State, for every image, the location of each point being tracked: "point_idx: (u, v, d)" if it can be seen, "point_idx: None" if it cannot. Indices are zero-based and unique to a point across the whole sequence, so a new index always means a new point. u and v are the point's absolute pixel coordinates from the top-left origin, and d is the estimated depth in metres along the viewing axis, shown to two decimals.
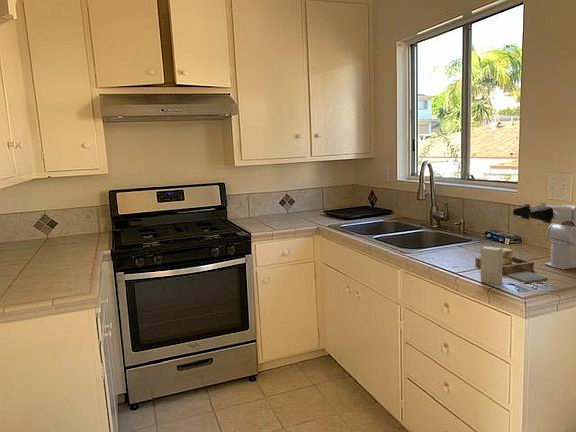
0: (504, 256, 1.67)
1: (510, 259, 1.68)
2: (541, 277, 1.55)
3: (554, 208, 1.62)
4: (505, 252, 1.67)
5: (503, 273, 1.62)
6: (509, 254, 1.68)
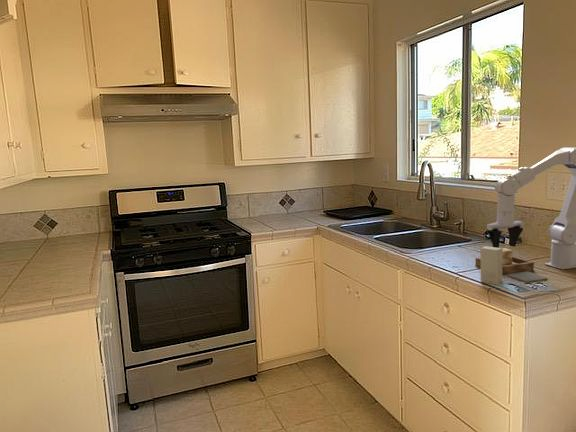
0: (504, 256, 1.67)
1: (510, 259, 1.68)
2: (541, 277, 1.55)
3: None
4: (505, 252, 1.67)
5: (503, 273, 1.62)
6: (509, 254, 1.68)
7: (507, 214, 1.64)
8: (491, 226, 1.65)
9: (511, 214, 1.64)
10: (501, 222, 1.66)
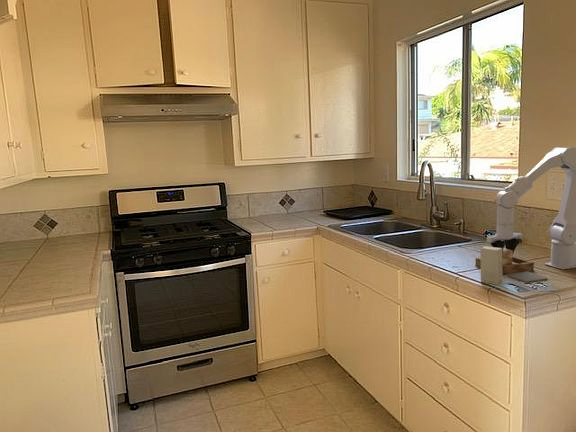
0: (504, 256, 1.67)
1: (510, 259, 1.68)
2: (541, 277, 1.55)
3: (496, 227, 1.69)
4: (505, 252, 1.67)
5: (503, 273, 1.62)
6: (509, 254, 1.68)
7: (507, 226, 1.65)
8: (491, 238, 1.65)
9: (511, 226, 1.65)
10: (501, 234, 1.66)
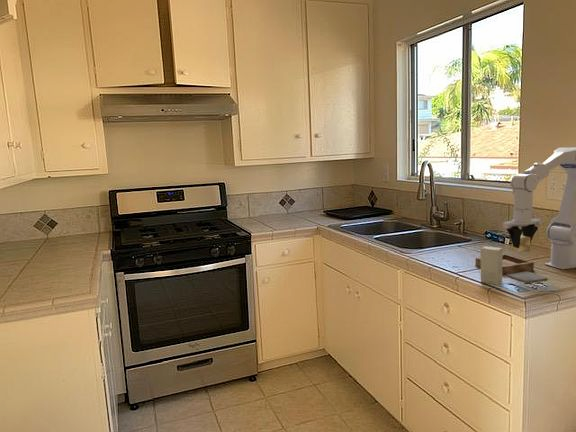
0: (521, 243, 1.56)
1: (527, 246, 1.57)
2: (541, 277, 1.55)
3: (513, 212, 1.58)
4: (523, 239, 1.56)
5: (503, 273, 1.62)
6: (526, 241, 1.57)
7: (525, 211, 1.54)
8: (508, 224, 1.55)
9: (529, 211, 1.54)
10: (518, 220, 1.56)
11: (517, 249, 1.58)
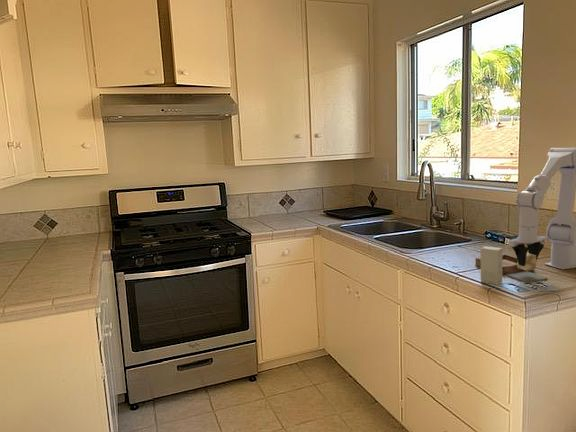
0: (527, 261, 1.54)
1: (533, 264, 1.55)
2: (541, 277, 1.55)
3: (519, 229, 1.56)
4: (528, 257, 1.54)
5: (503, 273, 1.62)
6: (532, 259, 1.55)
7: (531, 229, 1.52)
8: (513, 242, 1.52)
9: (535, 229, 1.52)
10: (524, 238, 1.53)
11: (523, 267, 1.56)
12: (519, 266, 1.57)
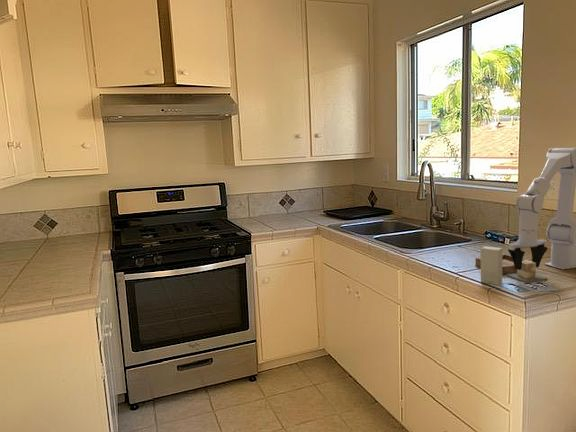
0: (527, 269, 1.55)
1: (533, 272, 1.56)
2: (541, 277, 1.55)
3: (519, 233, 1.56)
4: (528, 265, 1.54)
5: (503, 273, 1.62)
6: (532, 267, 1.55)
7: (531, 233, 1.52)
8: (513, 246, 1.52)
9: (535, 233, 1.52)
10: (524, 241, 1.53)
11: (522, 275, 1.56)
12: (519, 274, 1.58)
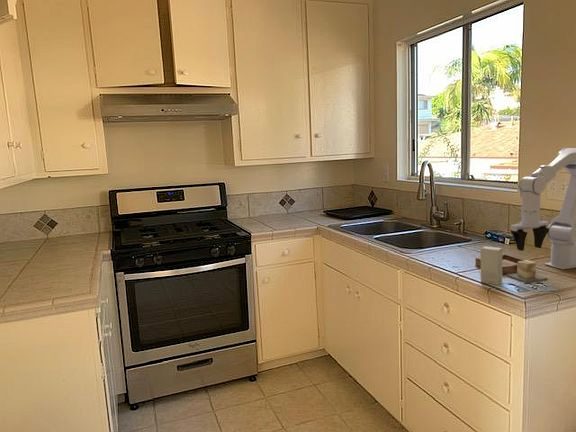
0: (527, 269, 1.55)
1: (533, 272, 1.56)
2: (541, 277, 1.55)
3: (521, 214, 1.59)
4: (528, 265, 1.54)
5: (503, 273, 1.62)
6: (532, 267, 1.55)
7: (533, 214, 1.55)
8: (516, 227, 1.56)
9: (537, 214, 1.55)
10: (526, 222, 1.56)
11: (522, 275, 1.56)
12: (519, 274, 1.58)
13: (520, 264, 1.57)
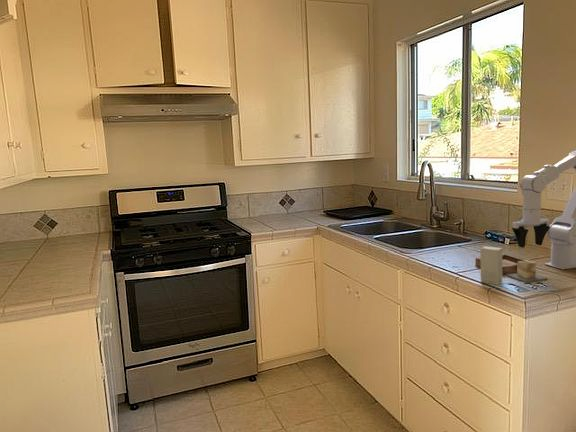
0: (527, 269, 1.55)
1: (533, 272, 1.56)
2: (541, 277, 1.55)
3: None
4: (528, 265, 1.54)
5: (503, 273, 1.62)
6: (532, 267, 1.55)
7: (534, 212, 1.59)
8: (517, 224, 1.59)
9: (538, 212, 1.59)
10: (527, 220, 1.60)
11: (522, 275, 1.56)
12: (519, 274, 1.58)
13: (520, 264, 1.57)
